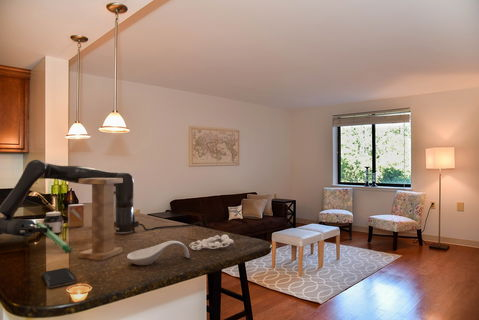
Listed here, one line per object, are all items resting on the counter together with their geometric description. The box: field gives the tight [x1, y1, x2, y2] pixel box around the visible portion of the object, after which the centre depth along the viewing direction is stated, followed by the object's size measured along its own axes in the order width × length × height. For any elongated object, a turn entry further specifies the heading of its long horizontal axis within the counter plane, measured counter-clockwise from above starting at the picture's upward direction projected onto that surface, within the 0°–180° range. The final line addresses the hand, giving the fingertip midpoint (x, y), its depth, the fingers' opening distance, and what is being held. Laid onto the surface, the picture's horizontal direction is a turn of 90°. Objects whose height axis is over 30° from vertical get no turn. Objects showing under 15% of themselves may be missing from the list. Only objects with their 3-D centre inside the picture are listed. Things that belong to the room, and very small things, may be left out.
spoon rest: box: [126, 240, 191, 266], centre depth 126 cm, size 24×12×7 cm, turn 115°
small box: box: [67, 203, 85, 228], centre depth 197 cm, size 8×6×13 cm
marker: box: [36, 222, 72, 253], centre depth 142 cm, size 21×2×2 cm, turn 71°
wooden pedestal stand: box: [78, 178, 124, 261], centre depth 135 cm, size 14×12×32 cm
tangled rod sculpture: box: [188, 234, 234, 252], centre depth 146 cm, size 19×14×4 cm
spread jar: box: [42, 211, 64, 236], centre depth 176 cm, size 12×11×12 cm
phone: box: [42, 267, 77, 289], centre depth 107 cm, size 8×1×15 cm
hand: (49, 229), depth 143 cm, fingers closed on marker, 2 cm apart
